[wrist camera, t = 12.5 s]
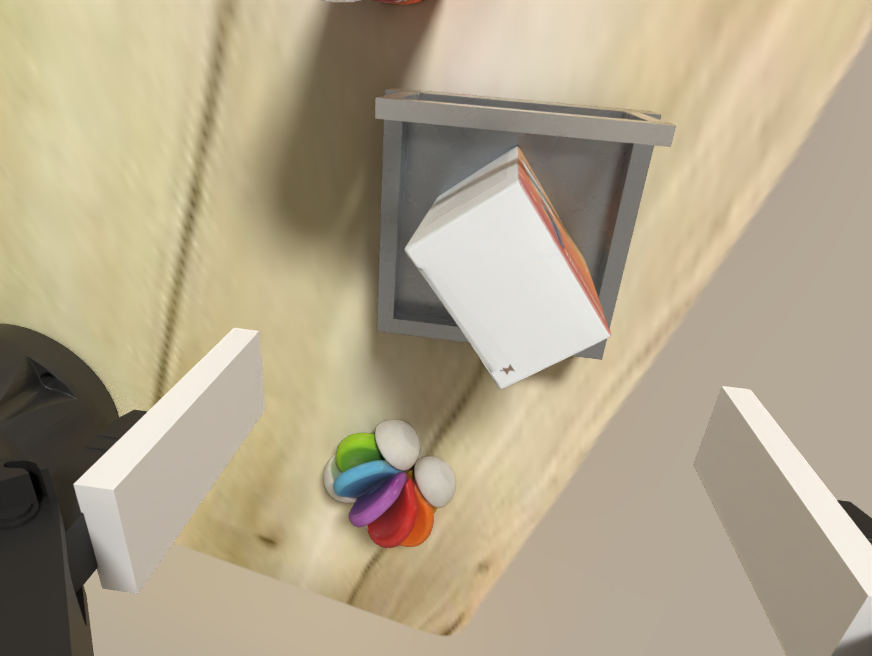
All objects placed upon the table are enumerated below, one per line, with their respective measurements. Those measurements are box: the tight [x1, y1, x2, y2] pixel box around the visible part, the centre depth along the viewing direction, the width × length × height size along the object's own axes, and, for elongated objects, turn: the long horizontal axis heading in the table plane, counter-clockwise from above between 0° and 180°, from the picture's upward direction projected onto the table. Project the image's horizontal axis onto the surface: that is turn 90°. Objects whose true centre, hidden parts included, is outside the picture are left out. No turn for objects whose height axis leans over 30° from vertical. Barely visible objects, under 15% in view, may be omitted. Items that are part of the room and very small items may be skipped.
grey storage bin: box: [375, 88, 676, 360], centre depth 29 cm, size 14×14×10 cm
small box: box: [405, 147, 611, 389], centre depth 27 cm, size 8×6×10 cm
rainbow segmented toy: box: [323, 419, 456, 548], centre depth 41 cm, size 8×10×7 cm
